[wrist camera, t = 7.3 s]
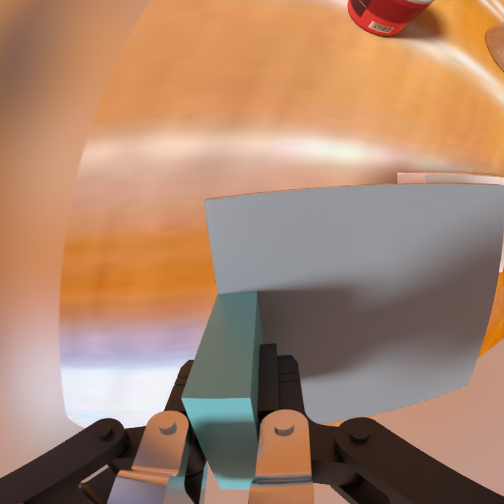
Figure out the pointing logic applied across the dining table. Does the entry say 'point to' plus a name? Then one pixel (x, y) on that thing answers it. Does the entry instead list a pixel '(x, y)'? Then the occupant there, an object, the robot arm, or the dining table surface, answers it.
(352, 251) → the lid
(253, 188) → the dining table surface
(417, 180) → the tub
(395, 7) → the canned food
